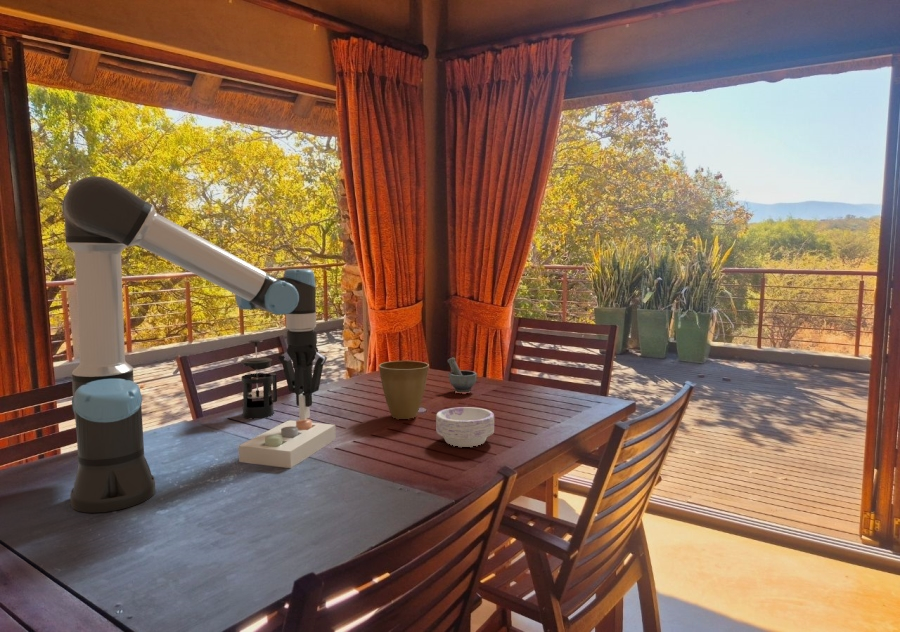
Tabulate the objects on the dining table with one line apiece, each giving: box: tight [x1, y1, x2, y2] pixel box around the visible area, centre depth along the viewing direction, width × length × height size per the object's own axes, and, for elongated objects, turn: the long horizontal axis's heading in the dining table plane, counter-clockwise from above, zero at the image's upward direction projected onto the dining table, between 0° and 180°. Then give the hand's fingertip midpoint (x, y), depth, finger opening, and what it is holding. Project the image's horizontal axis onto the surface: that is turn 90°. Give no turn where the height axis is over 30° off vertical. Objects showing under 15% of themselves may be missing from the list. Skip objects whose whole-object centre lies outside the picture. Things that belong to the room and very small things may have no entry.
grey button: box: [281, 426, 298, 438], centre depth 151 cm, size 4×4×4 cm
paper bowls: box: [435, 406, 495, 448], centre depth 158 cm, size 15×15×8 cm
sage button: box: [265, 435, 282, 447], centre depth 145 cm, size 4×4×4 cm
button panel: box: [238, 419, 337, 469], centre depth 152 cm, size 22×14×4 cm, turn 163°
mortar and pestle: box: [447, 357, 478, 392], centre depth 213 cm, size 11×9×12 cm
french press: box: [240, 339, 278, 420], centre depth 183 cm, size 12×9×23 cm
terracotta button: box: [295, 418, 313, 430], centre depth 158 cm, size 4×4×4 cm
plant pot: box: [378, 360, 430, 420], centre depth 181 cm, size 15×15×16 cm
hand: (304, 418), depth 158 cm, fingers closed
